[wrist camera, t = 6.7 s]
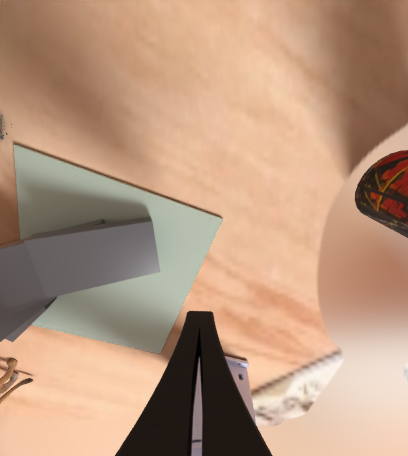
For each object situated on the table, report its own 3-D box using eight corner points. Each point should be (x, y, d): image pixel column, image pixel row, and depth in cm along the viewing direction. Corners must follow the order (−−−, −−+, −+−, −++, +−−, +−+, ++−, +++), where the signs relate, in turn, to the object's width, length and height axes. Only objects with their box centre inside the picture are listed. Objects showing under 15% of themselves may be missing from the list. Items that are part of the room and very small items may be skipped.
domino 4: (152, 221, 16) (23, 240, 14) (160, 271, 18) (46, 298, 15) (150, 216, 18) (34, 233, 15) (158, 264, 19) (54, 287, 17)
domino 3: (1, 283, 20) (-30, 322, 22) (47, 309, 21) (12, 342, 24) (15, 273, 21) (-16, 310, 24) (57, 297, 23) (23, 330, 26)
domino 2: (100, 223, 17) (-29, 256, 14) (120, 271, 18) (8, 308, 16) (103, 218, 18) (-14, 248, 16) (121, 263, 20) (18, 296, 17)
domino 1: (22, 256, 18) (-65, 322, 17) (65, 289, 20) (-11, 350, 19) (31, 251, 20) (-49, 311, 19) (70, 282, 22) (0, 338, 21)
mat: (222, 217, 18) (222, 219, 18) (160, 351, 28) (159, 354, 28) (16, 144, 15) (13, 144, 15) (28, 321, 25) (26, 323, 25)
